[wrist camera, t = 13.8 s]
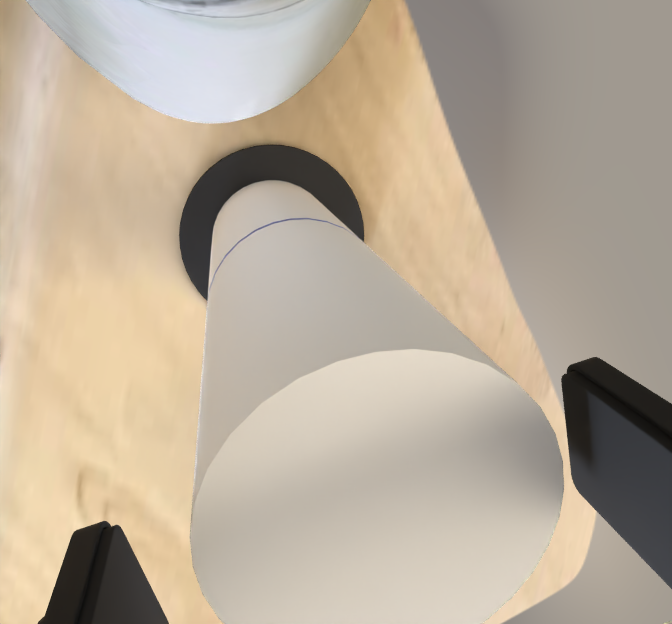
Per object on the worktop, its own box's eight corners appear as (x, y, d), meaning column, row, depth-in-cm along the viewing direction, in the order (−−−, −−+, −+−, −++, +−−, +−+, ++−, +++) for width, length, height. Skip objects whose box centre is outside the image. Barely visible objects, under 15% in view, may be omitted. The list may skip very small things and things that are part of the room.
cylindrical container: (326, 173, 33) (574, 319, 10) (337, 289, 35) (555, 624, 12) (202, 187, 32) (151, 388, 9) (222, 305, 34) (224, 706, 11)
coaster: (204, 340, 35) (204, 343, 35) (158, 163, 31) (157, 163, 31) (373, 304, 37) (375, 306, 36) (348, 129, 33) (350, 129, 32)
